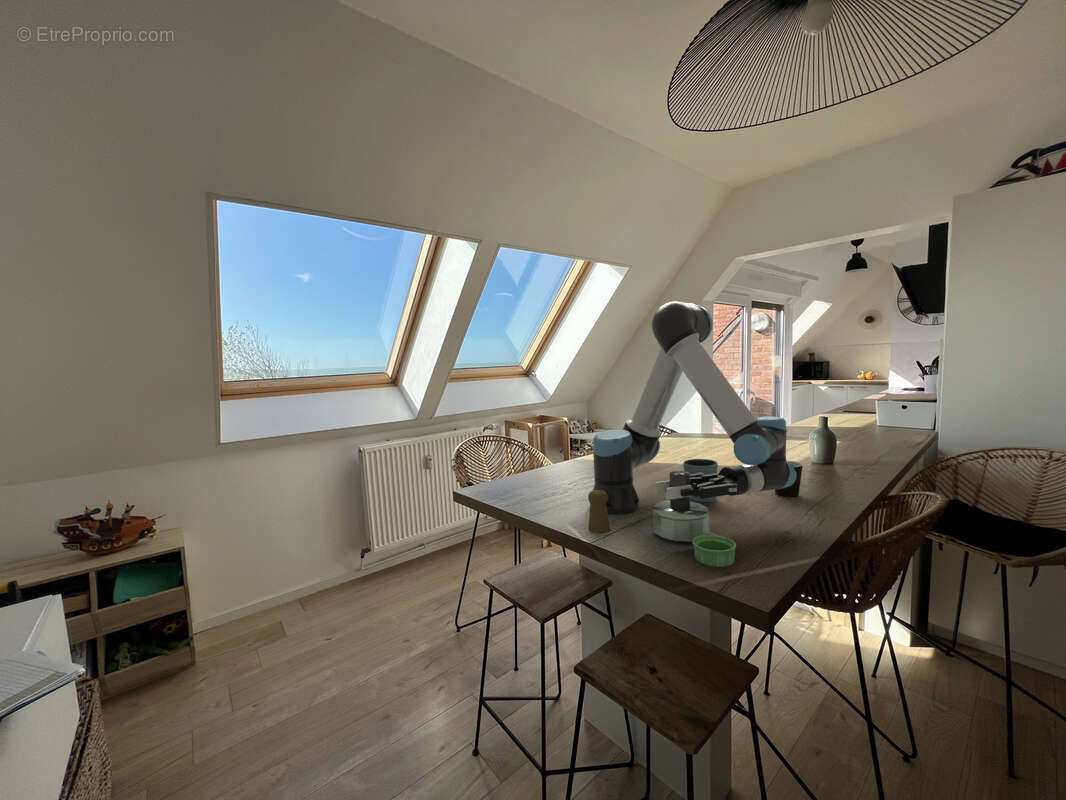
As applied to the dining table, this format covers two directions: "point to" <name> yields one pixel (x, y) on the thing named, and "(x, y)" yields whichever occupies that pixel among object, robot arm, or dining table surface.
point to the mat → (668, 540)
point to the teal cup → (701, 466)
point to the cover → (680, 514)
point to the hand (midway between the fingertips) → (661, 490)
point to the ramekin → (714, 550)
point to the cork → (598, 512)
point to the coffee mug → (794, 488)
